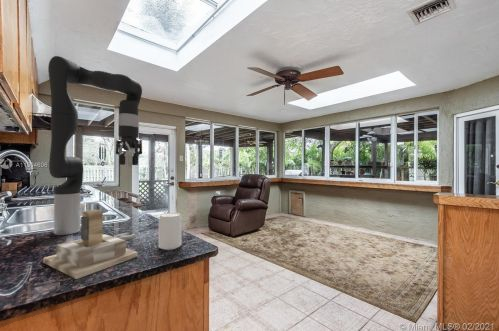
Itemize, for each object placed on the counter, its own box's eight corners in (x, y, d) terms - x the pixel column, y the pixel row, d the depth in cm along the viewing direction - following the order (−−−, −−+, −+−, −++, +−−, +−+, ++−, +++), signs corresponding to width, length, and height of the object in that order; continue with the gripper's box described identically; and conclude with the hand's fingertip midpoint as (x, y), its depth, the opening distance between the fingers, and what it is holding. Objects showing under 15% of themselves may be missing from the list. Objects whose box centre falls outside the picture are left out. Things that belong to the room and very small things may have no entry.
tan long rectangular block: (80, 256, 75) (80, 211, 74) (95, 251, 79) (95, 209, 79) (87, 258, 73) (87, 213, 73) (102, 253, 77) (102, 210, 77)
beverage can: (186, 245, 90) (186, 213, 90) (169, 252, 83) (169, 218, 83) (170, 241, 94) (170, 211, 94) (153, 248, 87) (153, 215, 86)
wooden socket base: (43, 262, 73) (43, 244, 73) (103, 245, 89) (103, 230, 89) (76, 279, 63) (76, 258, 63) (137, 256, 79) (137, 239, 79)
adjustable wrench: (60, 256, 80) (60, 250, 80) (56, 251, 84) (56, 246, 84) (136, 238, 98) (136, 234, 98) (130, 235, 103) (130, 231, 103)
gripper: (109, 125, 99) (109, 164, 99) (131, 123, 92) (130, 165, 92) (126, 128, 106) (126, 164, 106) (147, 126, 99) (147, 165, 99)
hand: (128, 164), depth 99 cm, fingers open, 8 cm apart
